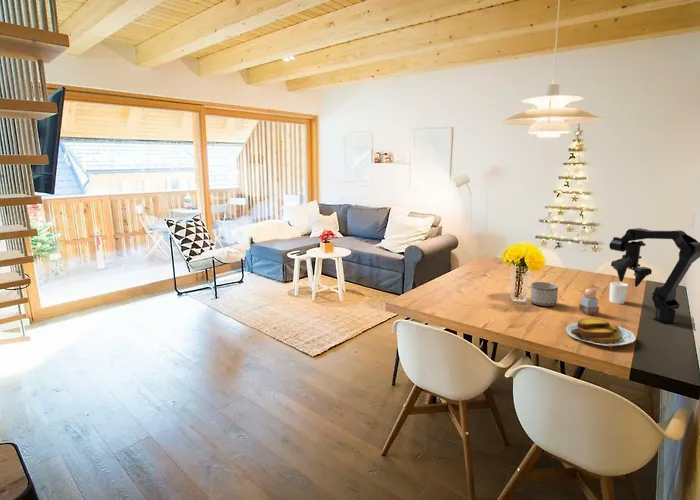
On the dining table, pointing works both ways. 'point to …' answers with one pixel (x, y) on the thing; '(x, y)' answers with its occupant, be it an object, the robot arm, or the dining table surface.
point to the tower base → (588, 310)
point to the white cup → (618, 292)
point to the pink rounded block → (590, 293)
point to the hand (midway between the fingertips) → (628, 283)
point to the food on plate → (600, 332)
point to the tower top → (589, 302)
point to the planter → (544, 293)
